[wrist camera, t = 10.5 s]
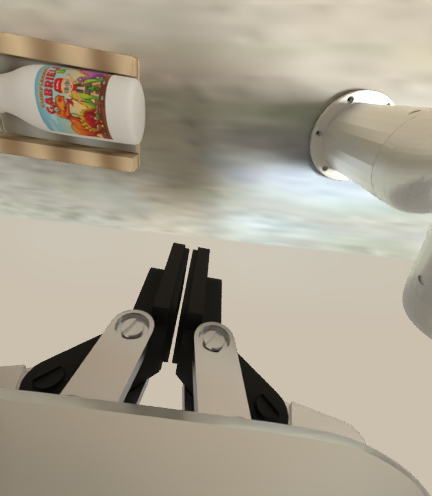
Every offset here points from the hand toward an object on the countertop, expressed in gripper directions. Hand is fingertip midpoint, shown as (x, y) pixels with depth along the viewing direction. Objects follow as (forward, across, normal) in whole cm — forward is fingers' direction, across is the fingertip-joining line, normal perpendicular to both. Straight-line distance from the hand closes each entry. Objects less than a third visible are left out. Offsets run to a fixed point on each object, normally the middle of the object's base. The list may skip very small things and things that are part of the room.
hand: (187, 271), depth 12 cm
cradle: (+32, +21, -1) cm, 38 cm away
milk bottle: (+27, +10, -3) cm, 29 cm away
